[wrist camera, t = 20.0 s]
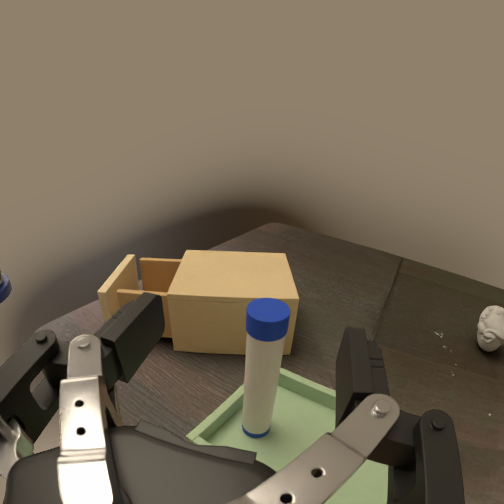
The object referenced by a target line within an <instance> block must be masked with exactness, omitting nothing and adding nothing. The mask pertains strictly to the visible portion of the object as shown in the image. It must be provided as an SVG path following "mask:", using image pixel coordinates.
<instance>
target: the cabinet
mask: <svg viewBox="0 0 504 504" xmlns="http://www.w3.org/2000/svg"><path fill="white" fill-rule="evenodd" d="M258 298H274V299H278V300H281V301H283V302H284V303H286V304H287V305H288V306H289V308H290V319H289V326H288V332H287V334H286V336H285V342H284V349H283V355H290V352H291V346H292V340H293V334H294V328H295V322H296V316H297V310H298V303H299V297H298V293H297V290H296V287H295V284H294V280H293V277H292V274H291V271H290V268H289V264H288V261H287V258H286V255H285V253H257V252H229V251H201V250H199V251H198V250H186V252H185V254H184V257H183V259H182V261H181V263H180V265H179V268H178V270H177V272H176V274H175V276H174V279H173V281H172V283H171V285H170V288H169V290H168V292H167V301H168V310H169V318H170V325H171V333H172V340H173V346H174V351H185V352H199V353H216V354H241V355H246V339H247V331H246V308H247V305H248V304H249V303H250V302H251V301H253V300H255V299H258Z"/></svg>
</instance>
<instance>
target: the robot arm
mask: <svg viewBox="0 0 504 504" xmlns="http://www.w3.org/2000/svg"><path fill="white" fill-rule="evenodd" d="M3 282H4V279H3V276H2V274H1V270H0V287H1V286H2V284H3ZM164 330H165V318H164V311H163V303H162V297H161V296H160V295H157V294H153V293H148V292H143V293H142V294H141V295H140V296H139V297H138V298H137V299H136V300H132V301H130V302H128V303H126V304H124V305H123V306H122V307H121V308H120V309H119V310H118V311H117V313H115V314H114V315H113V316H112V318H110V319H109V320H108V321H107V322H106V323H105V324H104V325H103V326H102V327H101V328H100V329H99V330H98V331H97V332H96V333H95V334H94V335H90V334H85V335H80V336H78V337H76V338H74V339H73V340H72V341H71V342H62V341H58V340H57V338H56V335H55V333H54V332H53V331H51V330H41V331H38V332H36V333H34V334H33V335H32V336H31V337H30V338H29V339H28V340H27V341H26V342H25V343H24V344H23V345H22V346H21V347H20V348H19V349H18V350H17V351H16V352H15V353H14V354H13V355H12V356H11V357H10V358H9V359H8V360H7V361H6V362H5V363H4V364H3V365H2V366H1V367H0V476H2V477H3V478H5V479H6V480H7V483H6V492H5V498H4V502H3V504H324V503H325V502H327V501H328V500H329V499H330V498H331V497H332V496H333V495H334V494H335V493H336V492H337V491H338V490H339V489H340V488H341V487H342V486H343V485H344V484H345V483H346V482H347V481H348V480H349V478H350V477H351V476H352V475H353V474H354V473H355V472H356V471H357V470H358V469H359V468H360V467H361V465H362V464H363V463H364V462H365V461H366V460H367V459H368V460H371V461H374V462H378V463H381V464H385V465H388V491H387V504H465V500H464V488H463V478H462V470H461V463H460V456H459V450H458V444H457V439H456V434H455V429H454V424H453V421H452V419H451V417H450V416H449V415H448V414H447V413H445V412H443V411H441V410H436V409H433V410H429V411H427V412H425V413H424V414H423V415H422V417H420V416H416V415H413V414H409V413H406V412H403V411H401V410H400V408H399V405H398V404H397V402H396V401H395V400H394V399H393V398H391V397H390V394H389V389H388V383H387V377H386V372H385V368H384V362H383V357H382V352H381V349H380V348H379V346H378V345H377V344H376V342H375V341H368V340H367V338H366V333H365V328H360V327H351V326H347V327H346V329H345V332H344V335H343V338H342V342H341V345H340V348H339V352H338V355H337V360H336V414H335V430H333V431H332V432H331V433H329V432H327V433H325V434H324V435H322V436H321V437H320V438H319V439H318V440H317V441H315V442H314V443H313V444H312V445H311V446H310V447H308V448H307V449H306V450H305V451H304V452H303V453H301V454H300V455H299V456H298V457H296V458H295V459H294V460H293V461H291V462H290V463H289V464H288V465H286V466H285V467H284V468H282V469H281V470H280V471H278V472H276V471H275V470H273V469H272V468H271V467H269V466H268V465H266V464H264V463H262V462H260V461H258V460H256V455H257V452H253V451H248V450H243V449H238V448H233V447H229V446H214V445H196V444H191V443H189V442H188V441H186V440H184V439H182V438H181V437H179V436H177V435H176V434H174V433H172V432H171V431H169V430H167V429H165V428H162V427H159V426H157V425H154V424H151V423H148V422H146V421H143V420H140V421H139V423H138V424H137V426H123V423H122V419H121V414H120V408H119V402H118V396H117V389H116V385H115V383H116V382H117V381H118V380H120V381H123V382H125V383H128V382H129V381H130V379H131V378H132V376H133V375H134V374H135V372H136V371H137V370H138V368H139V367H140V365H141V364H142V363H143V361H144V360H145V359H146V357H147V356H148V354H149V353H150V352H151V350H152V349H153V348H154V346H155V345H156V343H157V342H158V341H159V339H160V338H161V337H162V335H163V333H164ZM41 370H42V372H43V374H44V375H45V378H44V379H43V380H42V381H41V382H40V384H39V385H38V386H37V387H36V388H35V390H34V391H33V392H32V393H31V392H30V384H31V382H32V381H33V379H34V378H35V377H36V376H37V375H38V374H39V373H40V371H41ZM58 409H59V438H60V446H59V447H56V448H53V449H50V450H47V451H43V452H40V453H36V454H34V453H33V449H34V445H33V444H34V443H35V441H36V440H37V438H38V437H39V436H40V434H41V433H42V431H43V430H44V428H45V427H46V426H47V424H48V423H49V421H50V420H51V418H52V417H53V416H54V414H55V413H56V411H57V410H58Z"/></svg>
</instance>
